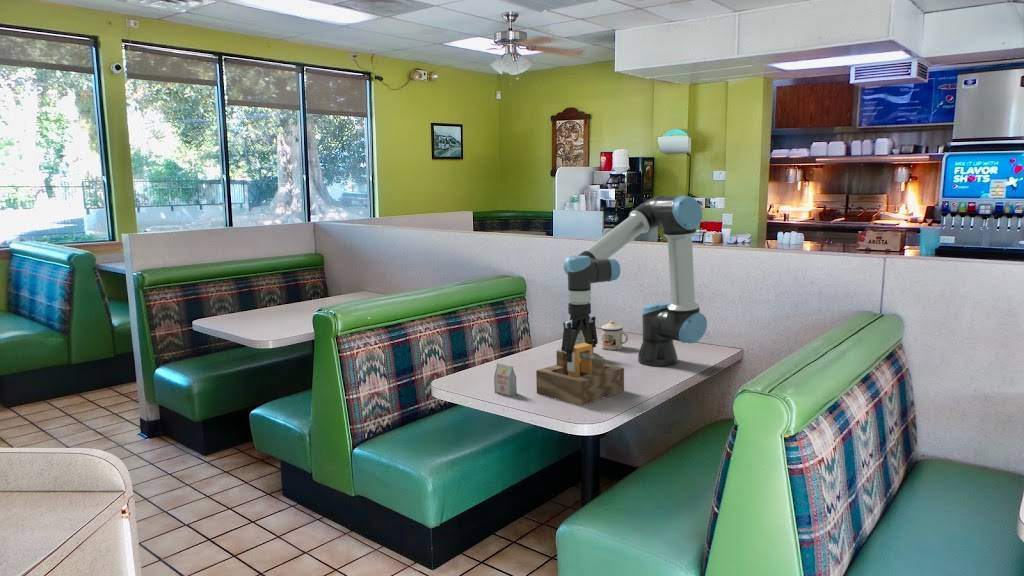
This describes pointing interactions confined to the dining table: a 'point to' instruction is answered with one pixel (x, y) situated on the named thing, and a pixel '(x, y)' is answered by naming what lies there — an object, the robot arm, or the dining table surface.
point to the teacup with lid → (612, 336)
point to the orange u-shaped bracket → (585, 364)
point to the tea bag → (505, 380)
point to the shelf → (580, 380)
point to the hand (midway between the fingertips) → (580, 368)
